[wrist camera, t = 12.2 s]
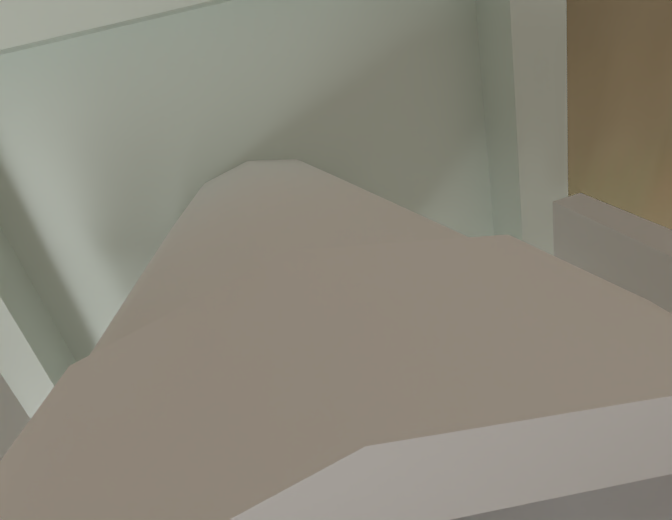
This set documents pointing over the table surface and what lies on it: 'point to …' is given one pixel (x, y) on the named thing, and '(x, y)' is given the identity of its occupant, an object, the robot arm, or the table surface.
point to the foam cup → (353, 375)
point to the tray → (253, 133)
